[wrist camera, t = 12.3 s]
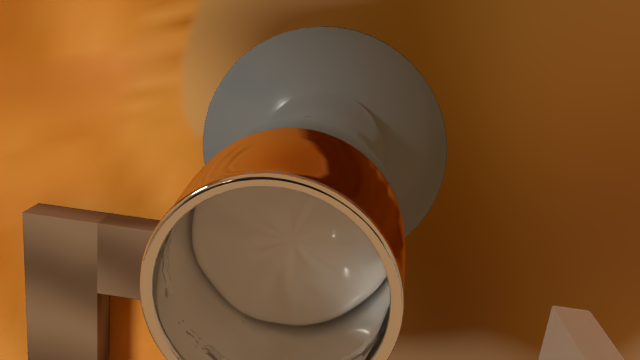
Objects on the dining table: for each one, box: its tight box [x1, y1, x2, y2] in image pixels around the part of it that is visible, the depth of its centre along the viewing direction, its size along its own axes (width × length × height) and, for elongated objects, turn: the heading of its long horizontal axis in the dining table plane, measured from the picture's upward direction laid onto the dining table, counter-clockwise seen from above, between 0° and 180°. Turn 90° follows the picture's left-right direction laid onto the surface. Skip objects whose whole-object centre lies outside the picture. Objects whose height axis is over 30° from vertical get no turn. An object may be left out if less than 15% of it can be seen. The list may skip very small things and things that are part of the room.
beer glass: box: [139, 92, 406, 360], centre depth 21 cm, size 7×7×15 cm
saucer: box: [203, 26, 447, 238], centre depth 29 cm, size 12×12×1 cm
